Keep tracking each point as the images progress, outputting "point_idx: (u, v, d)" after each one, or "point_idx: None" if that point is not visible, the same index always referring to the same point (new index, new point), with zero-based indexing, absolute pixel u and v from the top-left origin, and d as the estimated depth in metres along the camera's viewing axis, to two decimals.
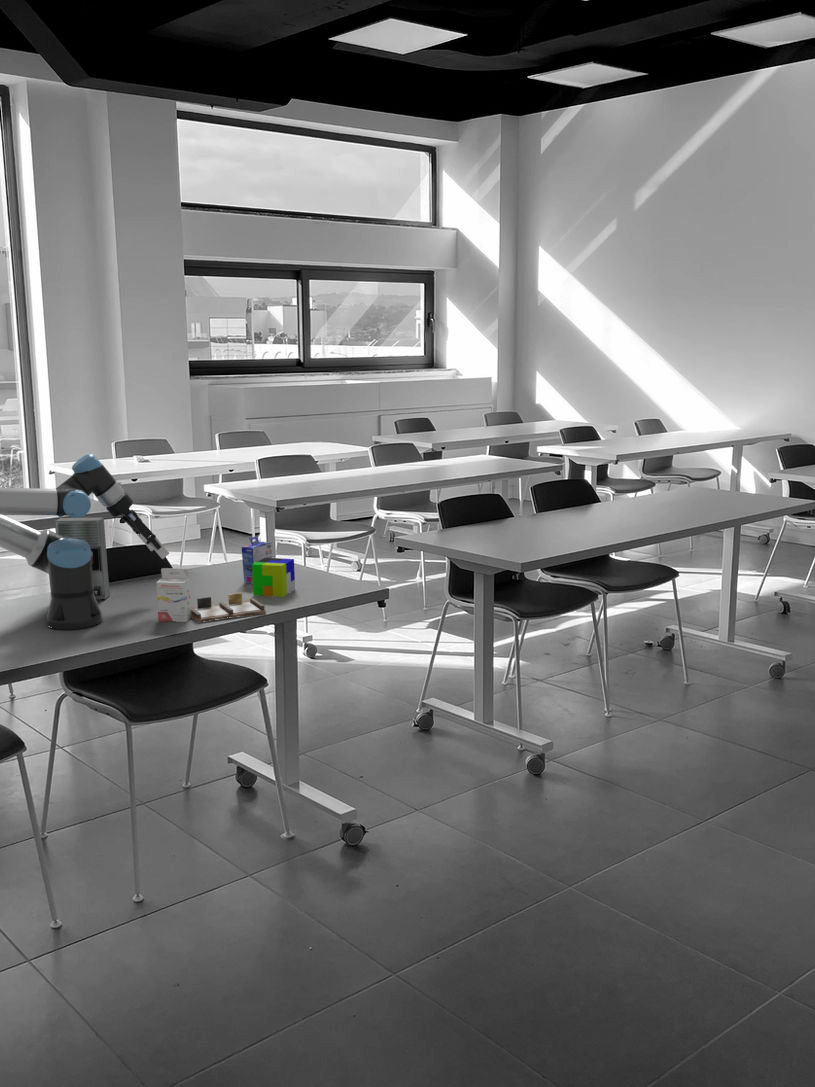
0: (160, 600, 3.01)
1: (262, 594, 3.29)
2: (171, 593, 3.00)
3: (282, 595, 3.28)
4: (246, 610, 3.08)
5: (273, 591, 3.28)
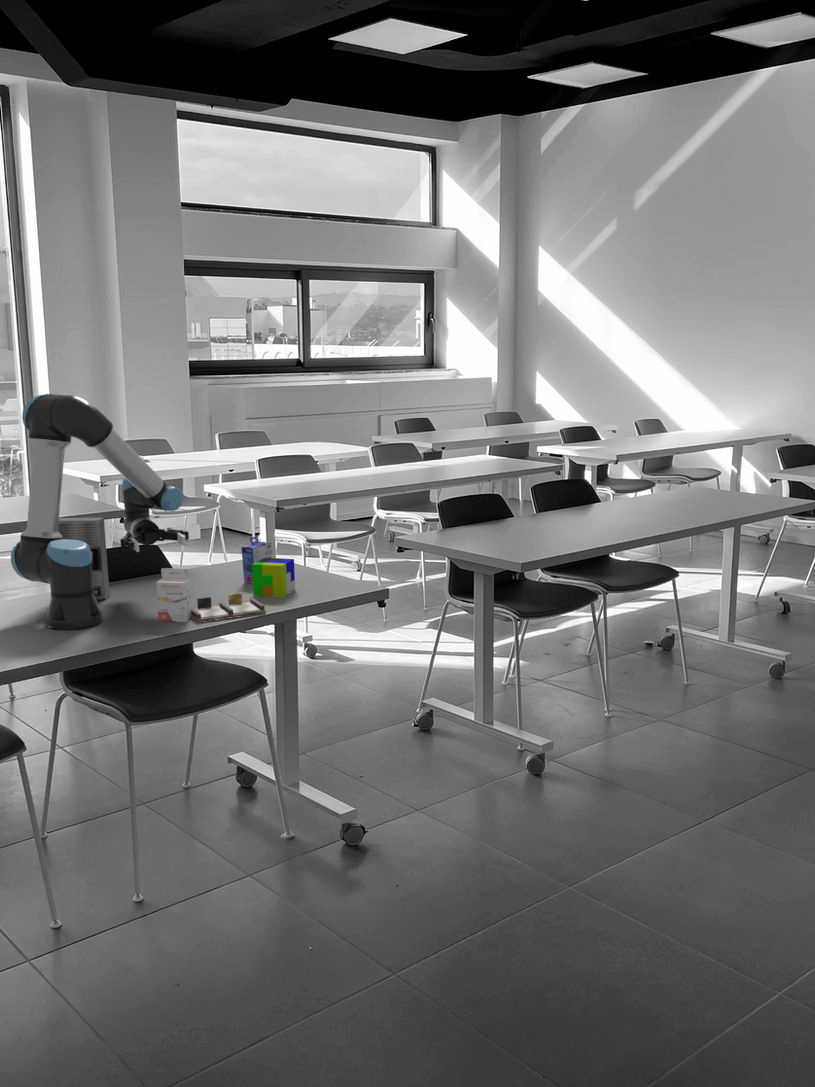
0: (160, 600, 3.01)
1: (262, 594, 3.29)
2: (171, 593, 3.00)
3: (282, 595, 3.28)
4: (246, 610, 3.08)
5: (273, 591, 3.28)
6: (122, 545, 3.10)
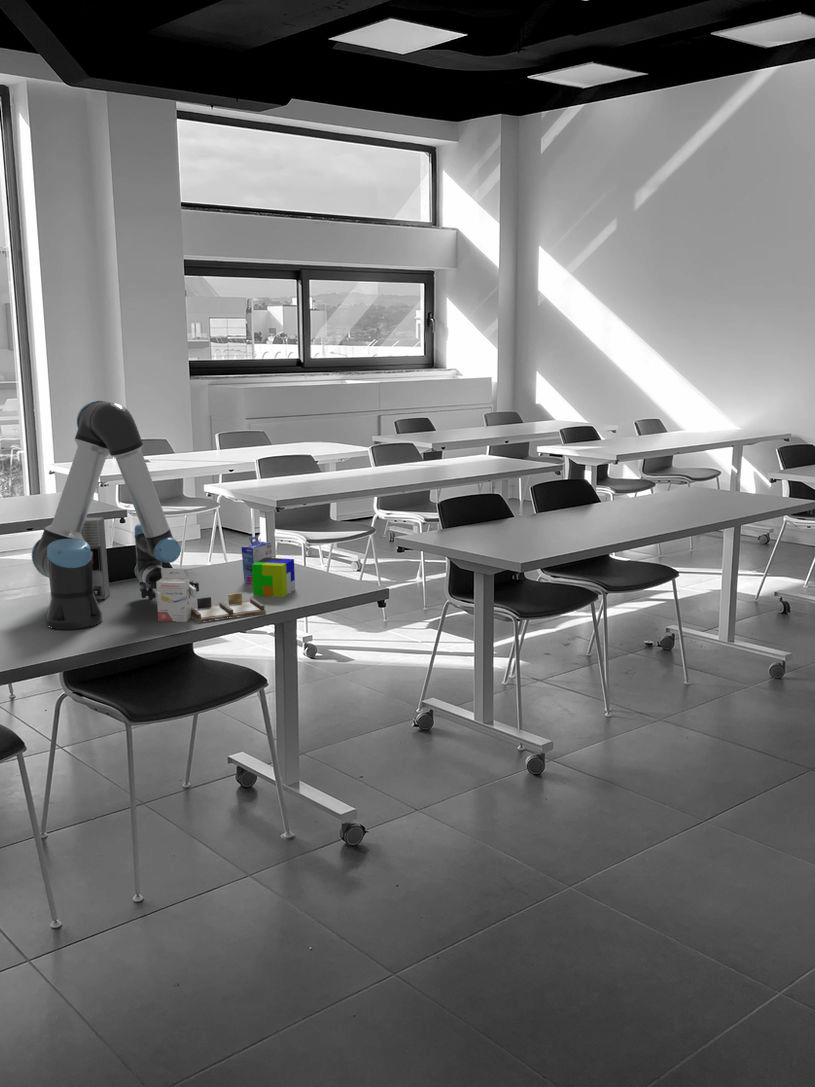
0: None
1: (262, 594, 3.29)
2: (171, 593, 3.00)
3: (282, 595, 3.28)
4: (246, 610, 3.08)
5: (273, 591, 3.28)
6: (143, 595, 3.01)
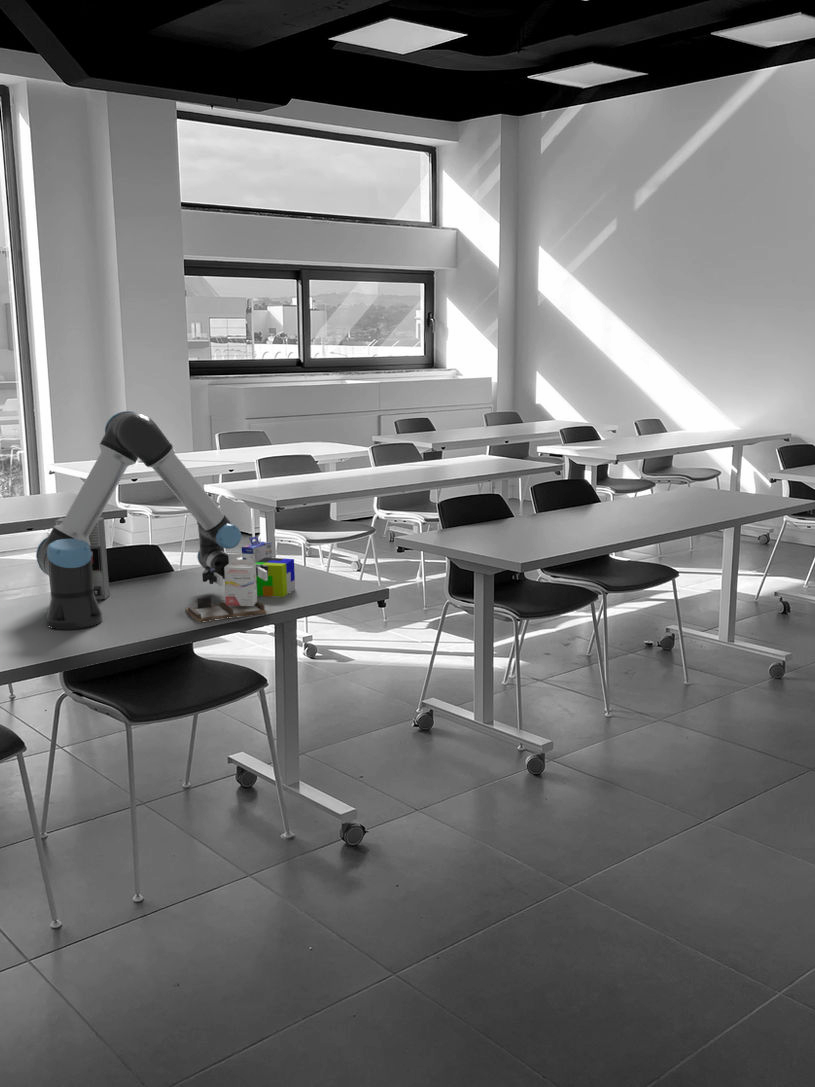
0: (227, 584, 3.08)
1: (262, 594, 3.29)
2: (239, 578, 3.07)
3: (282, 595, 3.28)
4: (246, 610, 3.08)
5: (273, 591, 3.28)
6: (204, 579, 3.09)
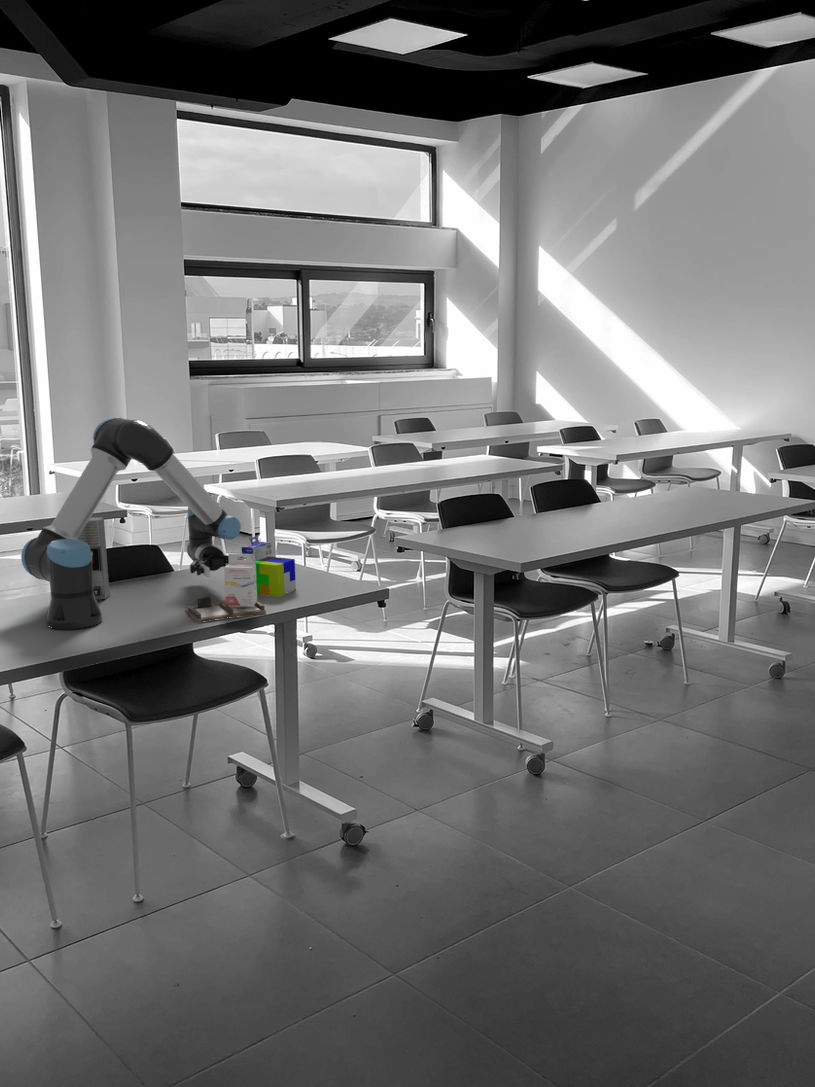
0: (227, 584, 3.08)
1: (260, 593, 3.31)
2: (239, 578, 3.07)
3: (278, 595, 3.28)
4: (246, 610, 3.08)
5: (270, 590, 3.29)
6: (192, 570, 3.20)
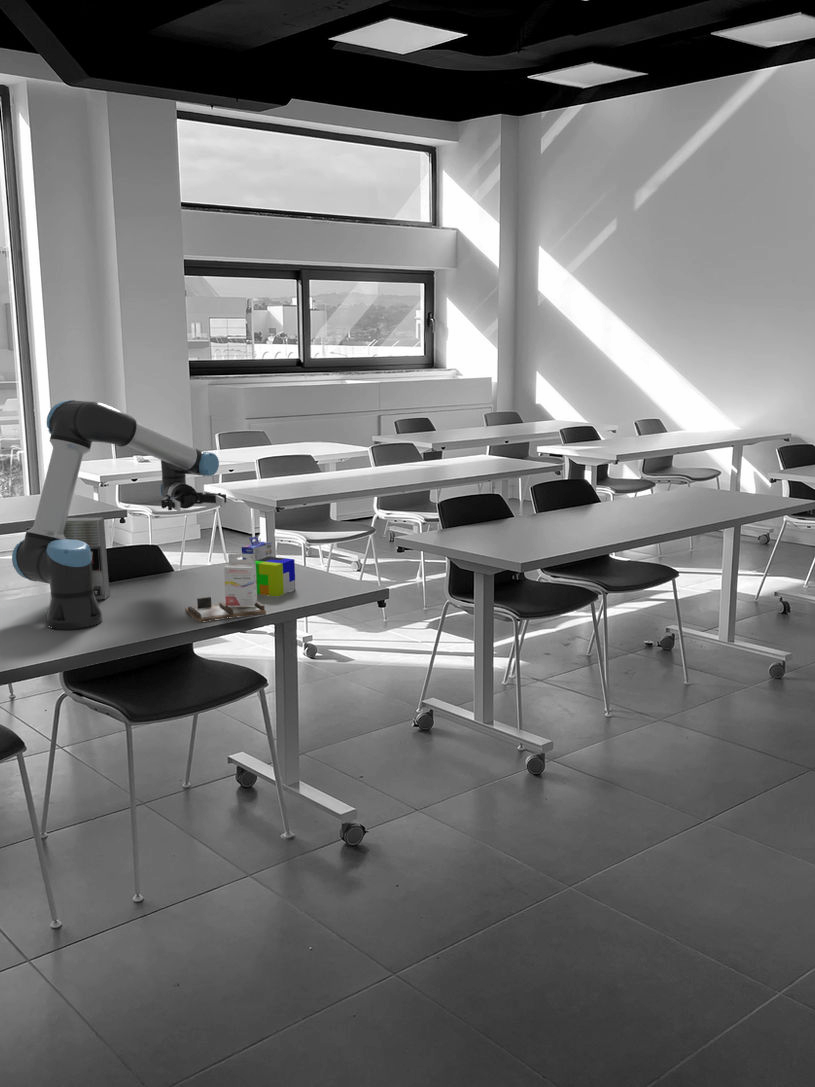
0: (227, 584, 3.08)
1: (259, 593, 3.31)
2: (239, 578, 3.07)
3: (277, 595, 3.28)
4: (246, 610, 3.08)
5: (269, 591, 3.29)
6: (163, 505, 3.20)
